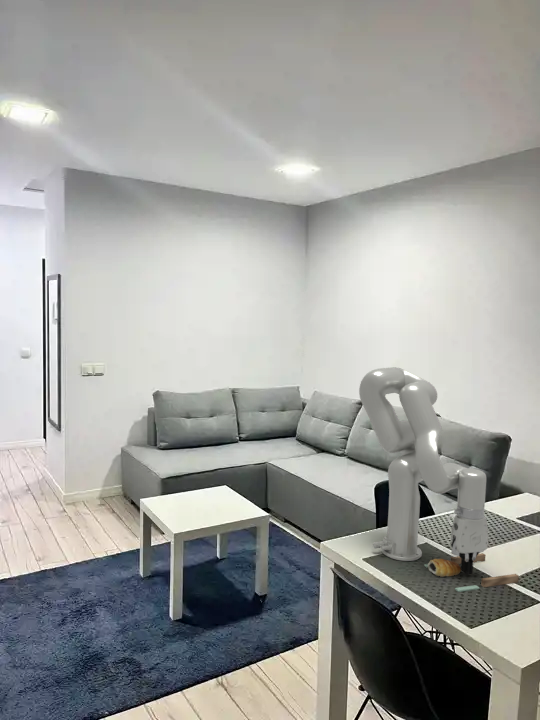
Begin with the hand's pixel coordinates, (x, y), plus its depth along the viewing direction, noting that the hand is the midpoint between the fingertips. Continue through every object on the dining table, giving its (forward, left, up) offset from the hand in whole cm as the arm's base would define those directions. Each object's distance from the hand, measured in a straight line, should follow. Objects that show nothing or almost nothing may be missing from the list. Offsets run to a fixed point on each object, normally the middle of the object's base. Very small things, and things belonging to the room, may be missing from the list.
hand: (466, 572), depth 166 cm
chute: (+6, 0, -1) cm, 6 cm away
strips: (-5, 0, -1) cm, 5 cm away
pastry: (-6, +4, -1) cm, 7 cm away
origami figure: (+22, +31, -1) cm, 37 cm away
